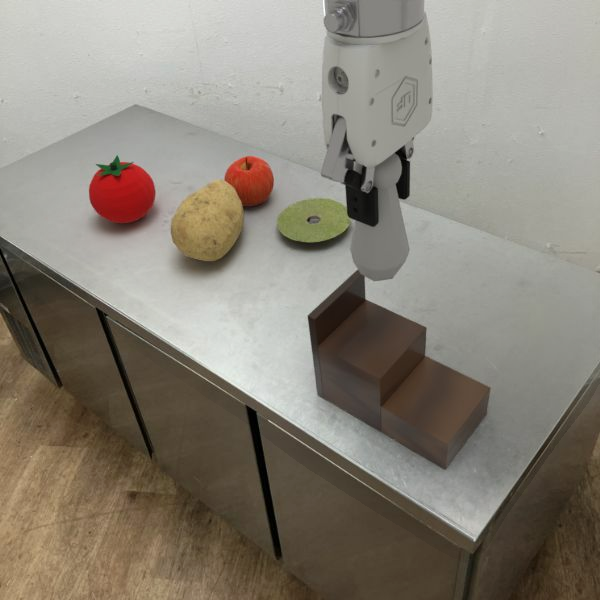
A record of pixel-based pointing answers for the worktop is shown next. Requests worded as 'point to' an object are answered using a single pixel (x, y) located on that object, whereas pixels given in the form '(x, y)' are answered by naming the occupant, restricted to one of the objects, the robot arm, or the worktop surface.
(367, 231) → the salt shaker
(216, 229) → the potato
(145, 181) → the tomato
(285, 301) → the worktop surface
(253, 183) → the apple
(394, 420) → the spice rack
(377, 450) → the worktop surface
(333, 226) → the mat
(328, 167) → the robot arm
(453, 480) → the worktop surface
